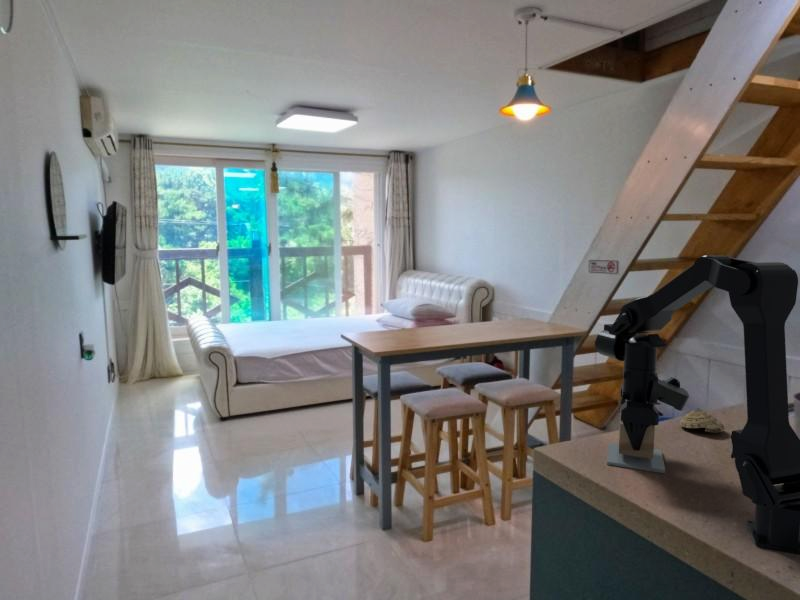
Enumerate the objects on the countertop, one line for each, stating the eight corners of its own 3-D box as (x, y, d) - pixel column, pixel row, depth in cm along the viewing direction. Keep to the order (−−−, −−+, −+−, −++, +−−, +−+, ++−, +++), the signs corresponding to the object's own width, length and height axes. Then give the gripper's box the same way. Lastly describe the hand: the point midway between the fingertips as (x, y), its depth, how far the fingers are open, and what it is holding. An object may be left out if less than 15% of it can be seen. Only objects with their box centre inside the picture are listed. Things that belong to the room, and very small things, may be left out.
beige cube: (653, 458, 99) (654, 427, 98) (618, 453, 101) (620, 423, 100) (651, 446, 104) (652, 417, 103) (618, 442, 106) (620, 414, 106)
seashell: (721, 429, 111) (685, 406, 116) (708, 449, 113) (673, 426, 119) (733, 421, 117) (698, 400, 122) (720, 440, 119) (686, 419, 124)
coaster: (665, 473, 96) (665, 470, 96) (607, 464, 100) (607, 461, 100) (661, 452, 105) (661, 449, 105) (607, 445, 109) (608, 442, 109)
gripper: (693, 383, 89) (687, 470, 91) (681, 359, 106) (676, 433, 108) (622, 376, 93) (618, 460, 95) (622, 355, 110) (618, 426, 112)
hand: (635, 444), depth 102 cm, fingers closed on beige cube, 6 cm apart
